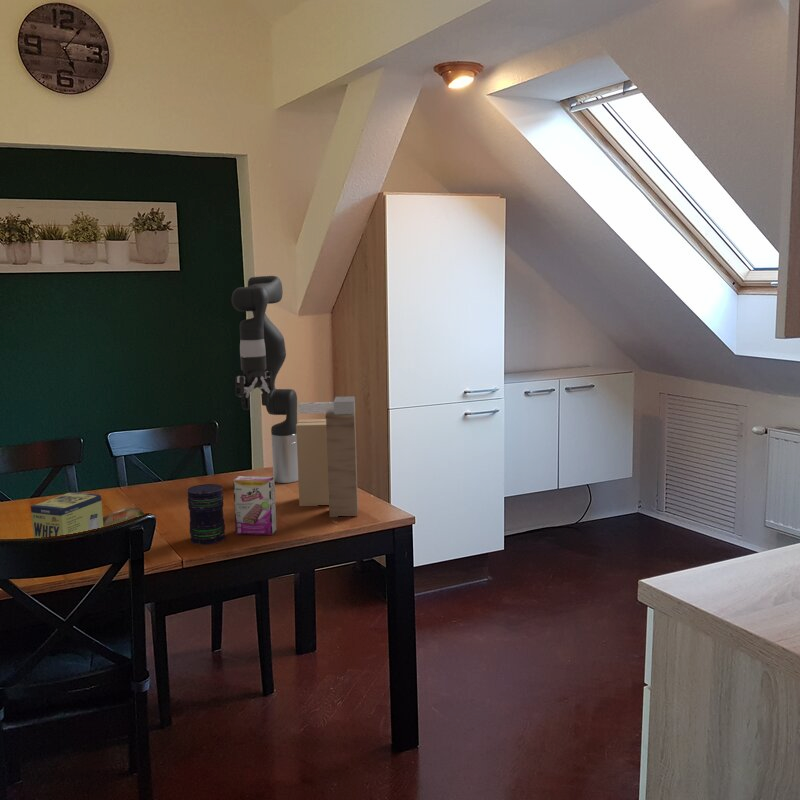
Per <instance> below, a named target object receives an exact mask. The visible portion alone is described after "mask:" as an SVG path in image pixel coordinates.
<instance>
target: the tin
mask: <svg viewBox="0 0 800 800" xmlns="http://www.w3.org/2000/svg"><path fill="white" fill-rule="evenodd" d="M143 515H145V513H144V511H143V510H142V509H141V508H140V507H134V506H133V507H132V506H131V507H126V508H122V509H120V510H118V511H114V512H110V513H108V514H106V515H103V526H109V525H112V524H115V523H119V522H123V521H127V520H129V519H132V518H135V517H139V516H143Z"/></svg>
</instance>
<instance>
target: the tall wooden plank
mask: <svg viewBox="0 0 800 800" xmlns="http://www.w3.org/2000/svg"><path fill="white" fill-rule="evenodd" d="M325 419H326V430H327V458H328V486H329V506H328V507H329V518H339V517H338V516H357V517H358V515H357V514H358V513H359V495H358V491H359V490H358V466H357V432H356V431H357V430H356V429H357V428H356V424H357V423H356V412H355V413H354V415H334V413H325Z"/></svg>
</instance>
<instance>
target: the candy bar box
mask: <svg viewBox="0 0 800 800" xmlns="http://www.w3.org/2000/svg"><path fill="white" fill-rule="evenodd" d="M232 482H233V483H232V484H233V500H234V501H233V504H234V524H235V525H234V526H235V535H253V534H254V535H255V536H256V535H257V536H258V535H259V536H260V535H263V536H264V535H265V536H272V535H274V534H275V532H276V531H277V512H276V510H277V509H276V486H275V483H276V482H275V480H274V477H273V476H252V475H251V476H250V475H249V476H248V475H247V476H246V475H244V476H243V475H242V476H241V475H238V476H237V477H235V478H234V479H233V481H232Z"/></svg>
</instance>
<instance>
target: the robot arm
mask: <svg viewBox="0 0 800 800" xmlns="http://www.w3.org/2000/svg"><path fill="white" fill-rule="evenodd" d="M282 298H283V284H282V280H281V279H280V277H278V276H275V275H265V276H263V275H262V276H252V277H250V278H249V279H248V281H247V286H242V287H237V288H235V289H234V291H233V292H232V295H231V304H232V307H233V308H234V309H235V310H236V311H238V312H252V315H253V317H250V318H248V319H243V320H241V321H240V323H239V339H240V343H239V355H240V357H239V358H240V370H241V371H242V373H243V374H242V375H236V376H235V377H234V379H235V380H234V381H235V382H234V383H235V384H234V385H235V386H234V387H235V389H234V390H235V393H234V394H235V396H236V397H239V398H240V399H241V401H240V402H241V408H242V410H243V411H249V410H251V409H250V398H249V397H250V394H251V392H253V390H255V389H259V391H260V392H261V406H263V407H265V408H266V411H267V413H268V415H273V416H274V415H275V416H285V417H286V418H285V419H284V420H283V421H281V422H279V423H276V424H273V425H272V426H271V428H270V429H271V430H270V432H271V449H272V450H271V451H272V452H271V453H272V454H271V456H272V475H273V476H272V477H274V480H275V483H277V484H287V483H289V484H291V483H295V482H298V459H297V435H296V425H297V423H298V396H297V392H296V391H295V389H291V388H290V389H289V388H276V386H275V383H276V378H277V375H278V374H279V372H280V369H281V368H282V366H283V364H284V362H285V360H286V357H287V351H286V343H285V338H284V336H283V333H281V331H280V330H279V328H278V327H277V326H276V325H275V324H274V323H273V322H272V321H271V319H270V318H269V317H268V315H267V314H266V311H267V307H268V305H269V304H270V305H271V304H278V303H279V302H281V301H282Z"/></svg>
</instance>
